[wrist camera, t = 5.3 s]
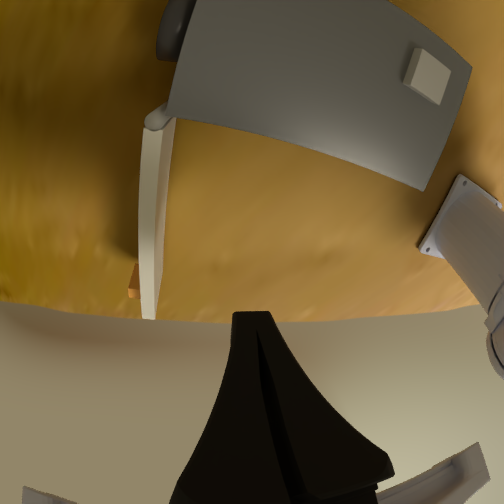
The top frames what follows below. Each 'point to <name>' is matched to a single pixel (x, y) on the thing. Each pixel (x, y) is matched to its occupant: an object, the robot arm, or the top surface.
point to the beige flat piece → (152, 208)
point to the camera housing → (318, 77)
